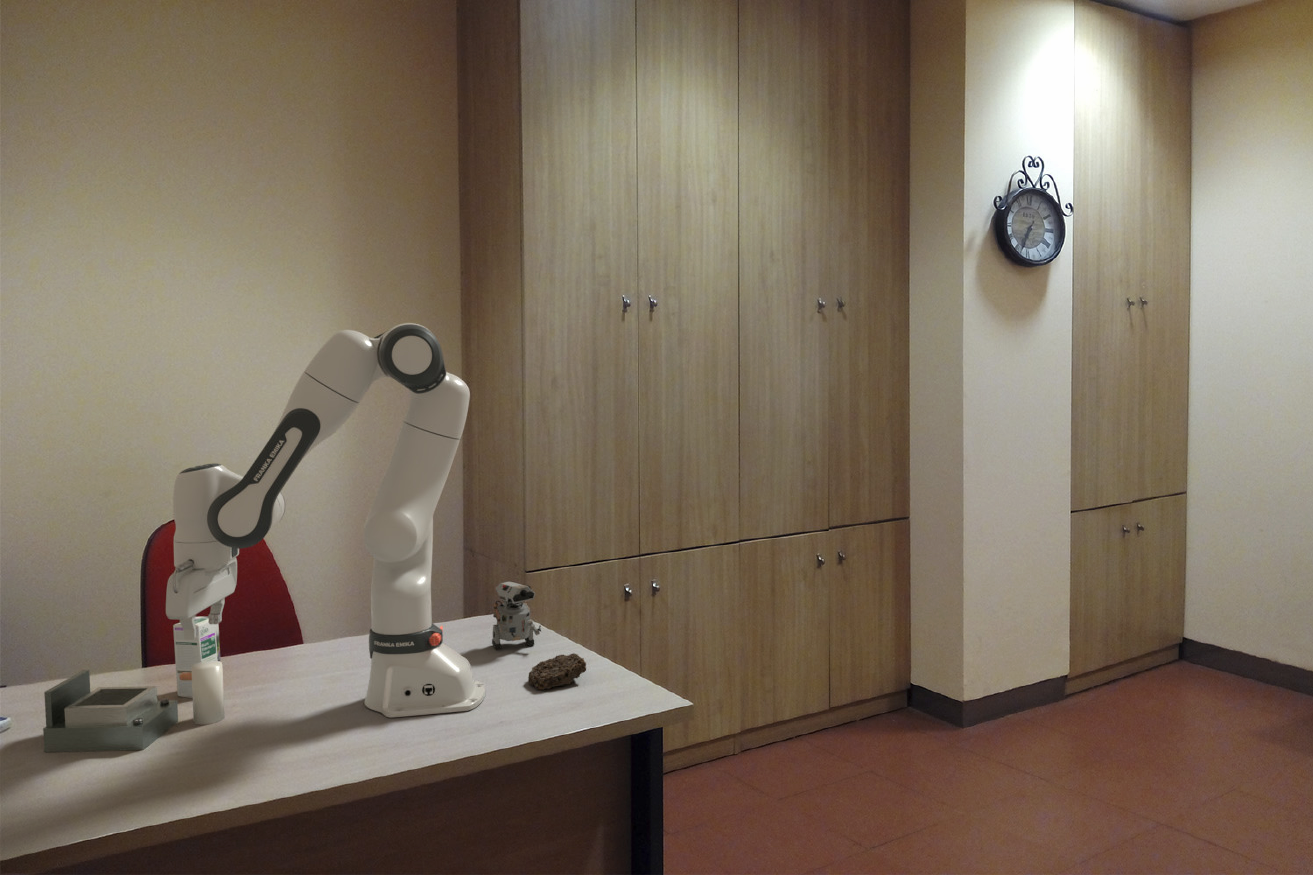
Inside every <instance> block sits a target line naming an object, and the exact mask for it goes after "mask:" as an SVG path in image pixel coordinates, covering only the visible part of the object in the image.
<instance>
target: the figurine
mask: <svg viewBox="0 0 1313 875" xmlns="http://www.w3.org/2000/svg"><path fill="white" fill-rule="evenodd" d="M495 591H496V593H497V596H498V597H499V600H501V601H503V603H502V602H501V601H499V600H496V601H495V603H494V604H493V613H492V614H493V618H495V619H496V624H493V625H492V639H491V644H492V647H493V648H494V649H495V651H496V650H497V651H499V650H501V649H502V643H501V640H503V641H506V642H514V641H515V642H517V641H521V640H522V641H523V640H524V641H525V643H526V644H527V645H528V646H529V647H533V646H535V639H534V635H535V636H539V635H540V632H542V626H541V625H539V626H538V628H537V627H536V625H535V624H534V621H533V619H531V608H530V607H529V606H528V603H527V602H528V601H531V600H535V597H536V592H535V591H534V590H532V587H531V586H530V585H524V584H520V583H517V582H514V581H513V582H512V581H504V582H500V583H499V584H498V585H496V587H495ZM498 602H499V603H500V604H499V603H498Z"/></svg>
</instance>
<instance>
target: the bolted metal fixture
mask: <svg viewBox="0 0 1313 875" xmlns="http://www.w3.org/2000/svg"><path fill="white" fill-rule="evenodd" d="M90 677H91V676H90V669H83V670H81V671H78V673H76V674H74V675H72V676H70V677H68V678H67V679H64V681H62V682H59V683H58V684H56V685H55V686H53V687H51V688H49V689H47V690H46V691H44V708H45V710H44V711H45V727H43V729H42V731H43V732H42V733H43V751H44V753H56V752H58V753H60V752H61V753H62V752H64V753H65V752H67V753H68V752H69V753H70V752H103V751H104V752H105V751H107V752H109V751H111V752H112V751H115V752H116V751H144V750H145V749H146V748H148V747H149V746H150V745H151V744H152V743H154V742H155V741H156V740H158V739H159V738H160V737H161V736H162V735H164V734H165V733H166V732H168V731H169V730H170V729H171V728H172V727H174V726H175V725H177V724H178V723H179V708H178V700H177V699H172V700H171V699H169V698H163V699H160V700H158V690H157V689H158V688H157V685H155V686H153V685H148V686H144V685H143V686H100V687H99V686H98V687H97V688H95V689H93V690H92V691H91V682H90V679H91V678H90Z"/></svg>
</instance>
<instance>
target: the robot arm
mask: <svg viewBox="0 0 1313 875" xmlns="http://www.w3.org/2000/svg"><path fill="white" fill-rule="evenodd" d="M445 364H446V363H445V360H444V354H443V350H442V347H441V344H440V341H439V340H438V339H437V336H435V334H433V332H432V331H431V330H430V329H429V328H427V327H426V326H424V325H421V324H418V323H414V322H405V323H400V324H396V325H395V326H393V327H391V328H390V329H388V330H386V331H385V332H382V333H380V334H378V335H376V336H374V337H370V336H368V335H366V334H364V333H363V332H361V331H357V330H353V329H341V330H339V331H337V332H335V333H334V334H333V335H332V336H331V337H330V338H329V339H328V340H327V341H326V343H325V344H323V345H322V347H321V348H320V349H319V350H318V351H317V353H316V354H315V355H314V356H313V358H312V360H311V361H310V362H309V364H308V365H307V366H306V368H305V369H304V371H303V372H302V374H301V376H300V377H299V379H298V381H297V382H296V384H295V386H294V388H293V390H292V392H291V394H290V396H289V399H288V401H287V403H286V405H285V408H284V410H283V412H282V414H281V416H280V417H279V418H280V419H279V420H278V423H277V425H276V427H275V429H274V431H273V433H272V435H271V436H270V437H269V439H268V441H267V442H266V444H265V446H264V447H263V448H262V450H261V451H260V453H259V454H258V456H257V457H256V458H255V460H254V461H253V463H252V464H251V465H250V467H249V469H248V470H247V472H246V474H244V476H243V475H240V474H239V473H235V472H233V471H232V470H230V469H228V468H227V467H226V466H225V465H223V464H220V463H207V464H205V463H204V464H200V465H195V466H191V467H187V468H185V469H183V470H181V471H180V472H179V473H178V474H177V475H176V477H175V479H174V484H173V485H174V486H173V496H172V517H173V519H174V523H175V531H174V535H173V565H174V567H175V570H174V572H173V573H172V574H171V575H170V576H169V578H168V579H167V583H166V585H167V586H166V591H165V592H166V596H165V597H166V598H165V615H166V617H167V619H169V620H179V623H181V626H182V628H183V630H184V638H185V639H186V640H192V639H194V638H196V637H197V636H198V627H196V626H195V622H194V620H195V619H196V617H197V614H199V613H201V612H202V611H204V610H206V609H207V608H209V607H210V612H209V614H207V615H208V616H207V617H208V619H209V621H208V622H209V624H218V625H219V624H220V623H222V618H223V617H222V614H223V609H224V606H225V600H226V598H227V597H228V596H230V595H232V594H233V593H235V589H236V586H237V582H238V581H237V580H238V560H237V557H238V556H239V554H240V549H241V550H242V549H248V548H251V547H254V546H256V545H257V544H259V543H260V542H262V540H263V539H264V538H265V537H266V536H267V534H268V533H270V532H271V531H272V530H273V529H274V528H275V527H277V525H278V524H279V523H280V522H281V521H282V520H283V517H284V515H285V512H286V501H285V497H284V496H283V494H282V491H283V489H284V488H285V486H286V484H287V483H288V481H289V480H290V478H291V477H292V475H293V474H294V473H295V471H296V469H297V468H298V467H299V465H300V463H301V462H302V461H303V460H304V458H305V457H307V455H308V454H309V453H310V452H311V451H312V450H313V449H314V448H316V447H317V446H319V445H320V444H321V443H322V442H324V441H325V440H326V439H328V438H330V437H331V436H332V435H334V434H335V433H336V432H338V431H339V429H340V428H341V427H343V425H344V424H345V423H346V422H347V421H348V420H349V418H350V417H351V416H352V415H353V413H355V411H356V409H357V408H358V406H359V405H360V403H361V402H362V400H363V398H364V396H365V395H366V394H367V392H368V390H370V388H371V386H373V384H374V383H375V382H376V381H379V380H380V379H383V378H390V379H392V380H394V381H396V382H397V383H399V384H400V385H402V386H404V387H405V388H407V389H408V391H409V402H408V406H407V410H406V411H405V412H406V413H405V415H404V418H403V421H402V423H401V427H400V430H399V432H398V435H397V438H396V442H395V444H394V447H393V450H392V452H391V453H392V454H391V456H390V459H389V462H388V464H387V466H386V469H385V471H384V474H383V476H382V478H381V481H380V483H379V486H378V487H377V491H376V492H375V496H374V498H373V499H372V500H373V501H372V503H371V506H370V508H369V511H368V514H367V516H366V519H365V522H364V524H363V528H362V539H363V545H364V547H365V549H366V551H367V552H368V553H369V554H370V555H371V556H372V557H373V566H372V577H371V584H370V611H371V613H370V614H371V615H370V616H371V617H370V618H371V628H370V629H369V631H368V632H369V635H368V653H369V659H370V660H371V661H370V672H369V679H368V686H367V691H366V696H365V699H364V702H363V703H364V705H365V707H366V708H368V709H370V710H372V711H375V712H379V713H382V715H383V716H385V717H387V718H400V717H401V718H402V717H412V716H425V715H433V714H435V715H436V714H444V713H445V714H446V713H455V712H456V713H457V712H467V711H471V710H473V709H475V708H476V707H478V706H479V705H480V704H481V703H483V701H484V699H485V696H486V692H487V691H486V685H485V684H484V683H483V682H481V681H479V680H474V673H473V669H472V665H471V664H470V662H469V660H468V659H467V658H466V657H464V656H462V655H461V654H459V653H458V652H456V651H455V650H454V649H453V648H451V647H449V646H448V645H446V644H444V643H443V640H444V639H443V638H444V637H443V636H444V635H443V632H444V627H443V625H441V626H440V627H438V626H437V625H435V624H434V623H433V622H432V621H433V620H432V568H433V544H434V542H433V541H434V540H433V538H434V513H435V510H436V508H437V505H438V503H439V500H440V497H441V495H442V493H443V489H444V487H445V485H446V481H448V480H447V479H448V476H449V473H450V471H451V468H452V465H453V462H454V459H455V457H456V454H457V450H458V447H459V444H460V441H461V438H462V436H463V434H464V433H463V432H464V429H465V426H466V421H467V418H468V412H469V411H468V410H469V406H470V398H471V393H470V388H469V387H468V385H467V383H466V382H465V381H464V380H462V378H460V377H459V376H457V375H455V374H452V373H451V372H448V371H447V370H446V366H445Z"/></svg>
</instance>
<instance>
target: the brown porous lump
mask: <svg viewBox="0 0 1313 875" xmlns="http://www.w3.org/2000/svg"><path fill="white" fill-rule="evenodd" d="M531 669H532V670H530V671H529V672H528V677H527V679H528V680H527V683H528V684H529V685H530V686H531V687H534V688H535V689H536V690H540V691H543V690H545V689H552V688H553V687H558V686H563V685H568V684H571V682H573V681H575V679H578V678H581V677H580V676H581V675H582V674H583V673H586V671H587V662H586V661H585V658H584V657H581V656H579V654H577V653H574V652H573V653H570V654H568V655H566V654H558V655H556V656H555V657H553V658H548V659H546V660H543V661H542V660H541V661H540V662H538V663H537V664H536V665H535V666H533V667H532V668H531Z"/></svg>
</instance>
